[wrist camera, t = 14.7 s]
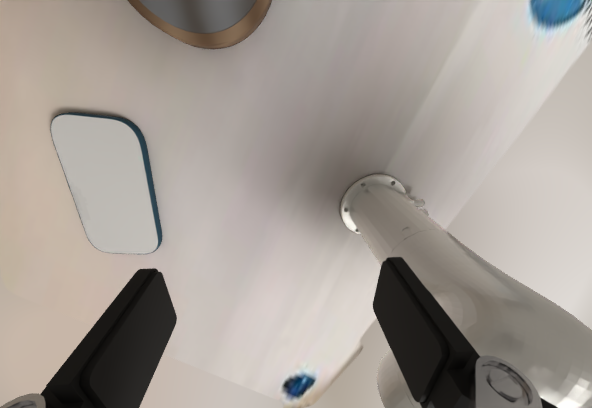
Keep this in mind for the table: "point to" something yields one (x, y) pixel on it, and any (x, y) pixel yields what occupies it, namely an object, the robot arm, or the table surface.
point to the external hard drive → (109, 181)
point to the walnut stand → (205, 19)
